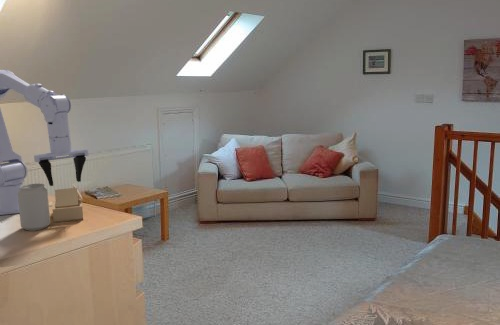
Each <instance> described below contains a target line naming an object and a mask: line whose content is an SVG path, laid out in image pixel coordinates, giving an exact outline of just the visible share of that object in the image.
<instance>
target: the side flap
mask: <svg viewBox="0 0 500 325" xmlns="http://www.w3.org/2000/svg"><path fill="white" fill-rule="evenodd" d="M72 188H77V186H76V185H75V183H74V182H73V183H72ZM77 194H78V198H79V199H81V201H83V196H82V195H81V193H80V190H79V189H78V188H77Z"/></svg>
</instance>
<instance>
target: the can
mask: <svg viewBox="0 0 500 325" xmlns="http://www.w3.org/2000/svg"><path fill="white" fill-rule="evenodd" d="M22 185H23V184H22ZM19 188H20V190H19V192H18V203H19V213H18V214H19V222H20V227H21V228H22V229H24V230H26V231H29V232H31V231H32V232H33V231H38V230H39V231H40V230H43V229H46V228H47V227H48V226H49V225H50V224H51V216H50V214H51V213H50V207H49V202H50V201H49V194H48V193H49V192H48V189H47V188H46V187H45V184H43V183H29V184H24V185H23V186H20V187H19Z"/></svg>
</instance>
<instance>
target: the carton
mask: <svg viewBox="0 0 500 325" xmlns="http://www.w3.org/2000/svg"><path fill="white" fill-rule="evenodd" d="M82 201H83V200H82ZM82 201H81V199H80V198H78V205H71V206H61V207H56V200H54V201H48V202H49V208H51V207H52V218H53V219H52V220H53V224H57V223H66V222H72V221H73V222H74V221H82V220H84V215H83V214H84V213H83V202H82Z"/></svg>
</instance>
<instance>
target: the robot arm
mask: <svg viewBox="0 0 500 325" xmlns="http://www.w3.org/2000/svg"><path fill="white" fill-rule="evenodd" d="M10 90H12V91H14V92H17V93H18V94H21V95H22V96H23V97H24V100H25V101H26V102H27V103H30V104H31V105H33V106H35V107H37V108H39V109H40V111H41V114H43V117H44V121H45V122H46V125H47V134H48V142H49V149H50V152H48V153H47V152H45V153H40V154H34V155H33V158H34V162H35V163H38V164H39V166H40V167H41V169H42V170H43V172H44V175H45V176H46V178H47V181H48V184H49V186H50V187H54V179H53V173H52V163H51V161H54V160H55V161H56V160H63V159H71V158H73V165H74V168H75V178H76V180H75V181H76V182H78V183H79V182H80V183H81V181H82V172H83V168H84V166H85V162H86V160H87V158H86V157H88V156H89V150H88V149H87V148H83V149H74V150H73V148H72V142H71V134H70V133H71V132H70V124H69V117H68V116H69V115H68V114H69V113H70V111H71V109H72V102H71V99H70V98H69V97H68V96H66V95H65V94H64V93H61V94H56V93H55V91H54V90H49V89H47V88H45V87H43V84H41V83H31V84H30V83H29V82H27V81H25V80H23V79H21V78H20V77H18V76H16V75H15V73H14V72H13V71H11V70H8V69H7V68H5V69H4V68H3V69H0V100H1V99H2V98H4V97H5V96H6V95H7V94H8V92H10ZM2 112H3V111H2V109H1V108H0V216H2V215H13V214H20V213H19V203H18V192H19V190H20V188H19V187H20V186H23V183H24V182H25V179H26V178H27V176H28V167H27V165H26V163H25V162H24V160H23V159H22V155H20V154H19V153H18V152H15V151H14V150H13V147H12V144H11V139H10V137H9V133H8V129H7V127H6V122H5V120H4V117H3V116H4V115H3V113H2Z"/></svg>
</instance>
